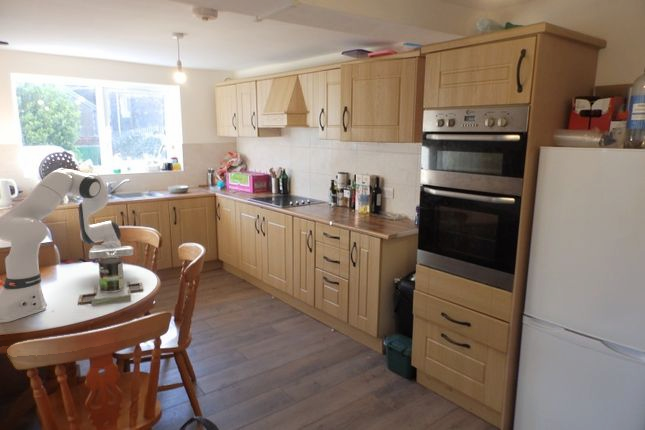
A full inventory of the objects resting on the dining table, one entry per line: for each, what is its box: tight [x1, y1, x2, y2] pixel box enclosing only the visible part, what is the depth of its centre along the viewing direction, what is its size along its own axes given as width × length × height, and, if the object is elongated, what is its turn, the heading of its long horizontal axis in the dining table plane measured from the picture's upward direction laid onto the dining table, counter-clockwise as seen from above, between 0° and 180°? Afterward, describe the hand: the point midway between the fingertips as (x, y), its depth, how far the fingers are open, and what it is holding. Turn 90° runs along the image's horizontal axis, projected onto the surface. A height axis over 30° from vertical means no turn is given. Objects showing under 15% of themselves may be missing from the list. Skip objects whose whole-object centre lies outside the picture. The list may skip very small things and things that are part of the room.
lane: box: [77, 281, 144, 306], centre depth 197 cm, size 24×26×2 cm
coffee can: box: [98, 257, 125, 294], centre depth 203 cm, size 10×10×14 cm
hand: (111, 256), depth 212 cm, fingers closed
